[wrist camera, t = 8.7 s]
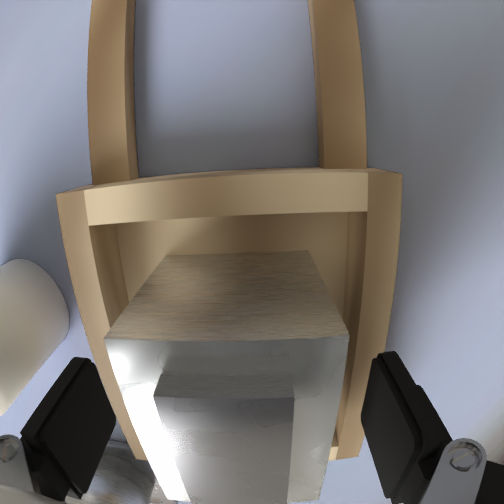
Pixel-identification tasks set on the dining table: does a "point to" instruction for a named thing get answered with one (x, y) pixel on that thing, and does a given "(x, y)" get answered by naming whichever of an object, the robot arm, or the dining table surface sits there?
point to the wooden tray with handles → (236, 207)
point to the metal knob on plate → (123, 480)
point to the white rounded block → (27, 325)
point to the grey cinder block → (233, 375)
